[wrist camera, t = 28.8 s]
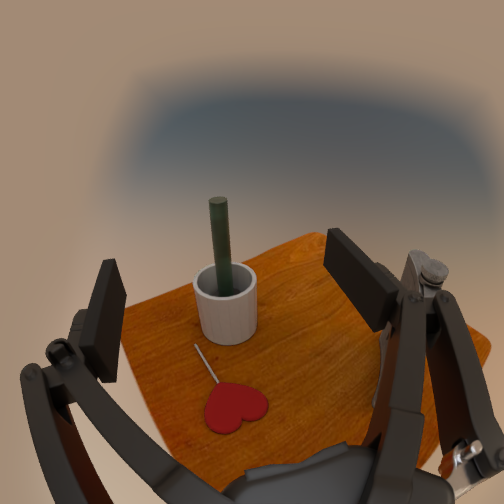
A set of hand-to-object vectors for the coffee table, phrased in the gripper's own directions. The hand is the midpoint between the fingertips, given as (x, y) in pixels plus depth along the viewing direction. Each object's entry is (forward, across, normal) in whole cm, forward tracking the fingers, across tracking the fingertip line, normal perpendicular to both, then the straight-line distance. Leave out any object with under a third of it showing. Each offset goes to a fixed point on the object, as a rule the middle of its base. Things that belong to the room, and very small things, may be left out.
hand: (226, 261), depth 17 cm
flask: (+2, +21, -24) cm, 32 cm away
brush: (+18, +2, -23) cm, 29 cm away
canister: (+18, +2, -24) cm, 29 cm away
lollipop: (+7, -2, -24) cm, 25 cm away
